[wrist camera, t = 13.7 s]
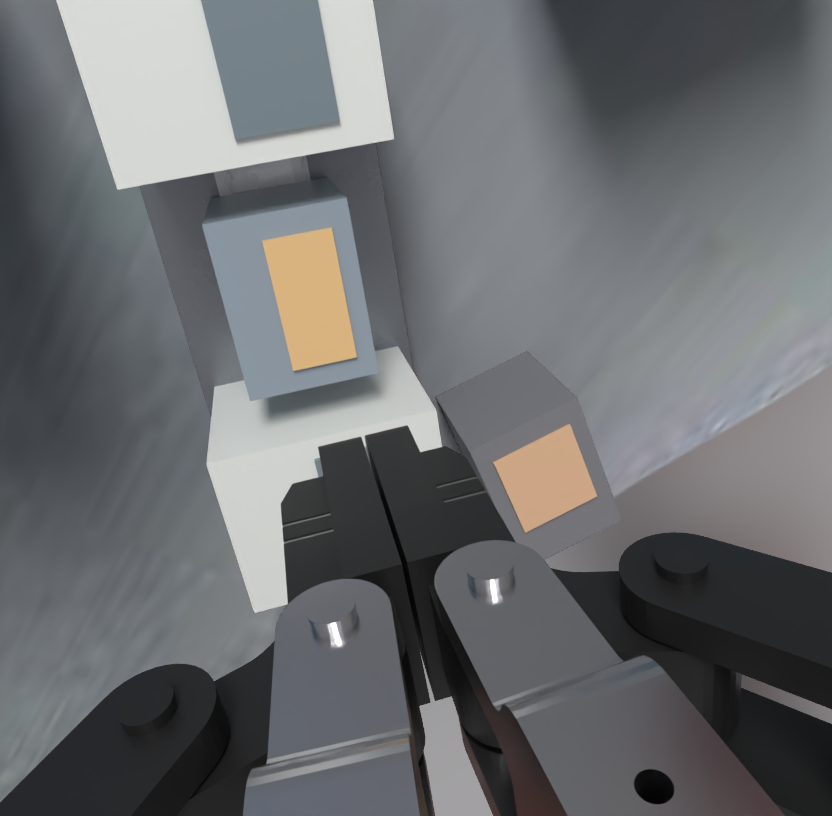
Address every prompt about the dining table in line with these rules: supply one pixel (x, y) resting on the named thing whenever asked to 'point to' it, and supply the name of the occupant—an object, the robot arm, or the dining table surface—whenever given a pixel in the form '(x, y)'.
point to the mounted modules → (238, 147)
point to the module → (291, 286)
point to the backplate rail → (194, 273)
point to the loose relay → (532, 454)
